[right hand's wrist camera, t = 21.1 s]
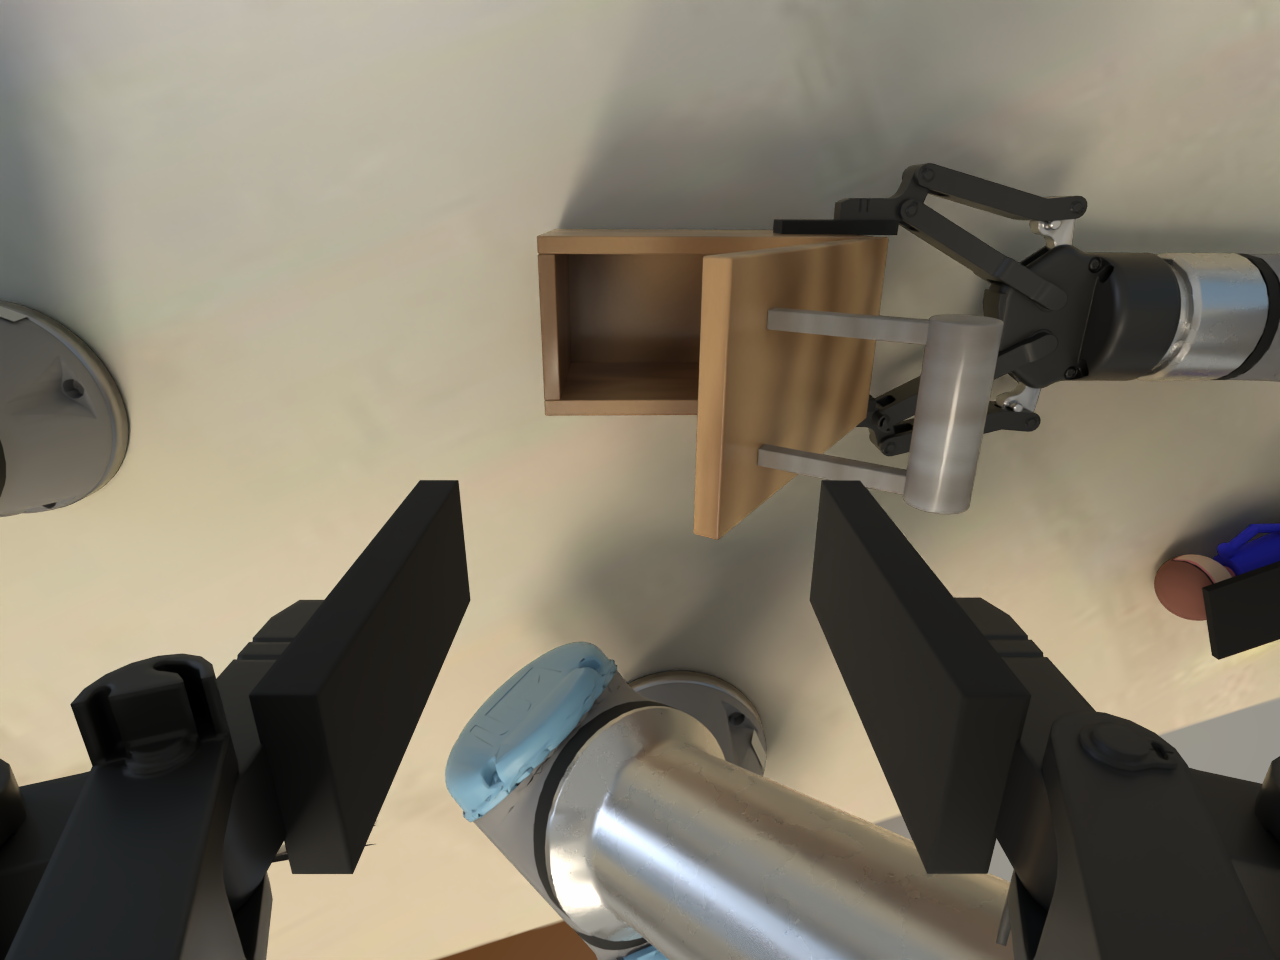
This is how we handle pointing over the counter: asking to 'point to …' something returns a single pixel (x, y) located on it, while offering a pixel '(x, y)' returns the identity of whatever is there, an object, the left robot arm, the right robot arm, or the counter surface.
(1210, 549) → the counter surface
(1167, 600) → the figurine character
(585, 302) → the chest
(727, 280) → the lid
